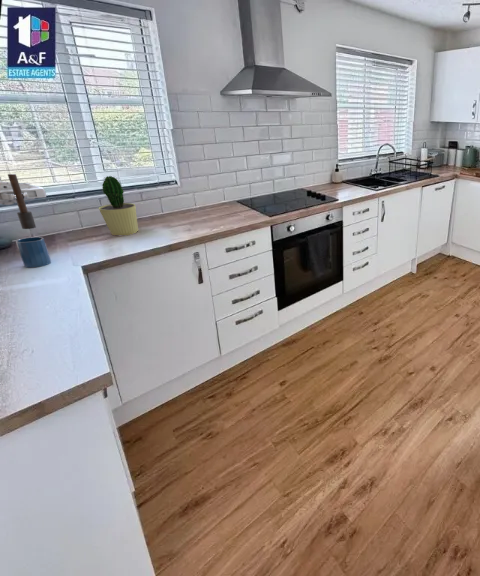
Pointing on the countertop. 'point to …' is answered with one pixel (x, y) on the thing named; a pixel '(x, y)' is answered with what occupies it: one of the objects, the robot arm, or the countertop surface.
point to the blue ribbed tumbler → (33, 251)
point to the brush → (21, 204)
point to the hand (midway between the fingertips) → (20, 196)
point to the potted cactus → (118, 209)
